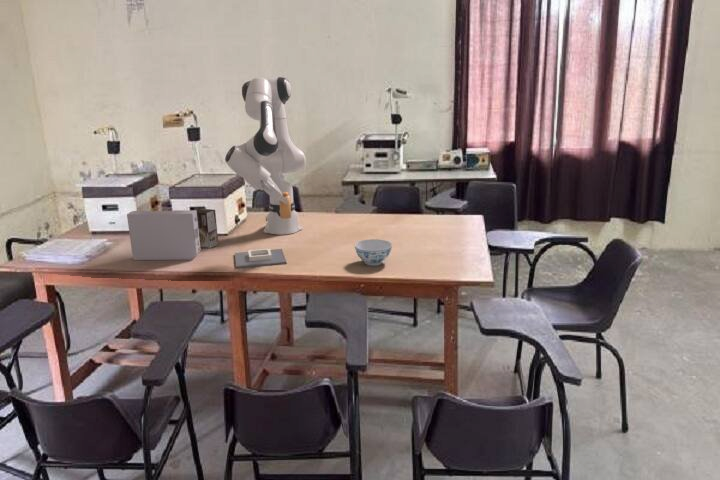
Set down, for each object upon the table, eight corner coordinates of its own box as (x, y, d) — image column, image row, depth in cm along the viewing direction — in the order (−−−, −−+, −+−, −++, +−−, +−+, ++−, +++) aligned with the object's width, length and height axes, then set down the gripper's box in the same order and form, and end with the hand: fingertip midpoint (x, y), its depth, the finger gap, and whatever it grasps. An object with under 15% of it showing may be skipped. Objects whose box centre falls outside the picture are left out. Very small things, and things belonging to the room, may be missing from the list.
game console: (138, 256, 252) (132, 210, 246) (201, 255, 251) (196, 210, 246) (132, 260, 247) (126, 214, 241) (197, 259, 246) (192, 213, 240)
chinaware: (357, 256, 245) (356, 239, 243) (393, 257, 244) (393, 239, 242) (352, 268, 231) (352, 250, 229) (391, 269, 229) (391, 250, 227)
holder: (234, 254, 251) (234, 248, 250) (281, 250, 255) (281, 244, 255) (236, 268, 234) (235, 261, 233) (286, 263, 239) (286, 257, 238)
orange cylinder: (279, 216, 244) (278, 192, 241) (290, 215, 245) (289, 191, 242) (281, 218, 240) (279, 194, 237) (291, 218, 241) (290, 193, 238)
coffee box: (219, 244, 266) (215, 209, 262) (210, 248, 261) (206, 212, 256) (203, 242, 270) (199, 207, 265) (193, 246, 264) (190, 211, 260)
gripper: (268, 177, 226) (294, 200, 231) (263, 169, 245) (288, 190, 250) (257, 189, 226) (284, 212, 231) (253, 180, 245) (278, 201, 250)
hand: (286, 201), depth 240 cm, fingers closed on orange cylinder, 4 cm apart
